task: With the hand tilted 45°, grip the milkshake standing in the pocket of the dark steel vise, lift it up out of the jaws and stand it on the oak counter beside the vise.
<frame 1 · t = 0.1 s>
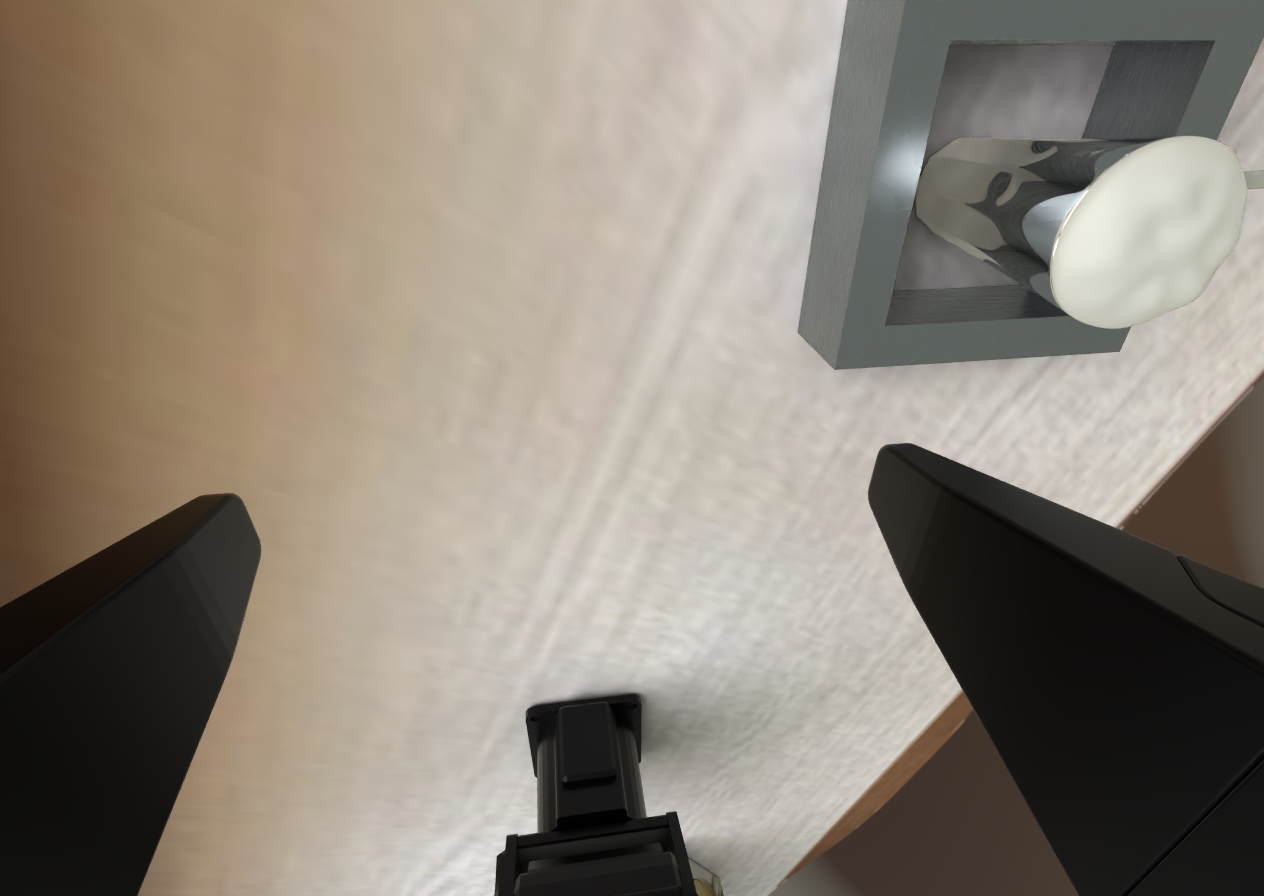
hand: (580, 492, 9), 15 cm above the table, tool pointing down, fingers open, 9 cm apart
coffee box: (660, 873, 47), on the table
milkshake: (963, 177, 22), on the table
vise: (967, 178, 22), on the table
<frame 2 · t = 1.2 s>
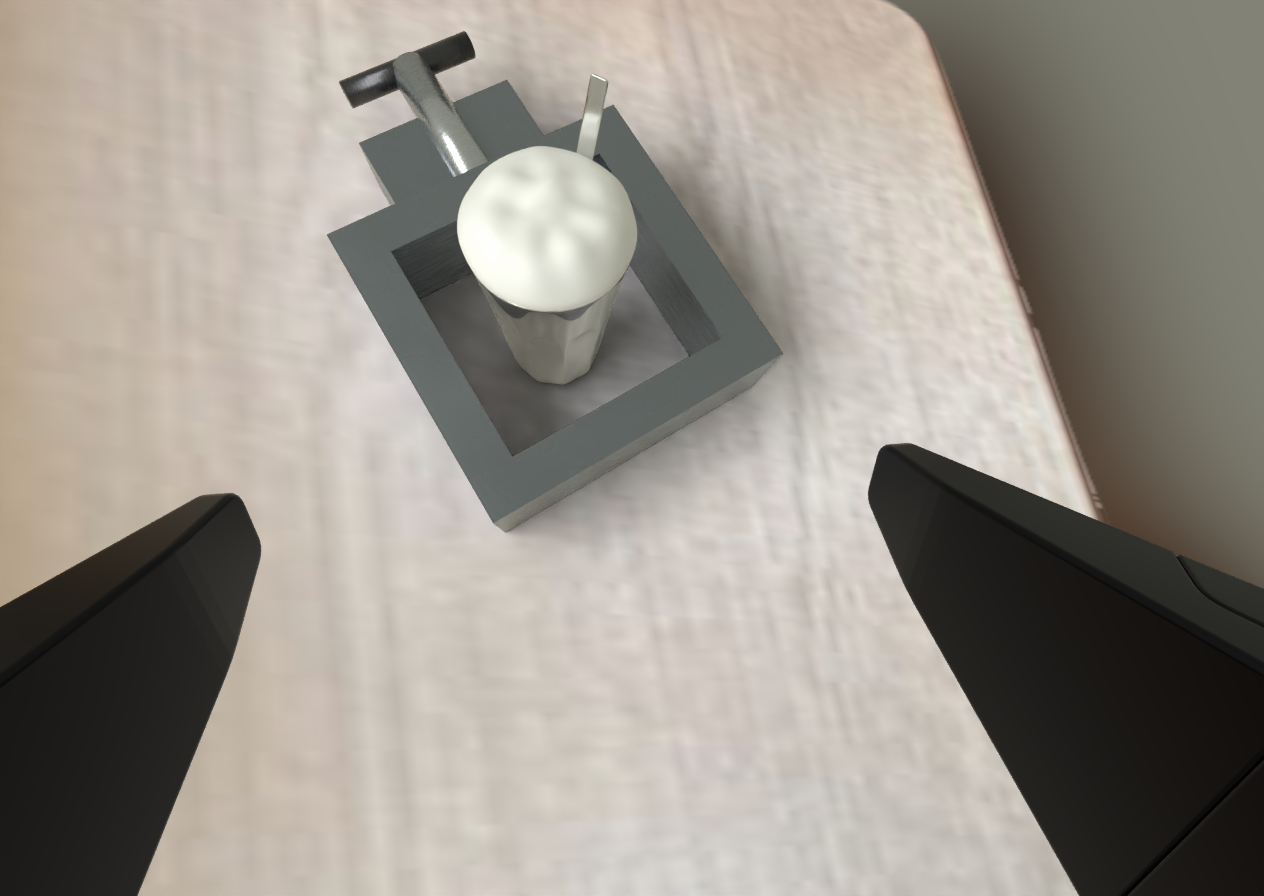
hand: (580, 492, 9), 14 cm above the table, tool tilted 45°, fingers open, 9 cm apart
milkshake: (560, 338, 24), on the table
vise: (560, 336, 23), on the table
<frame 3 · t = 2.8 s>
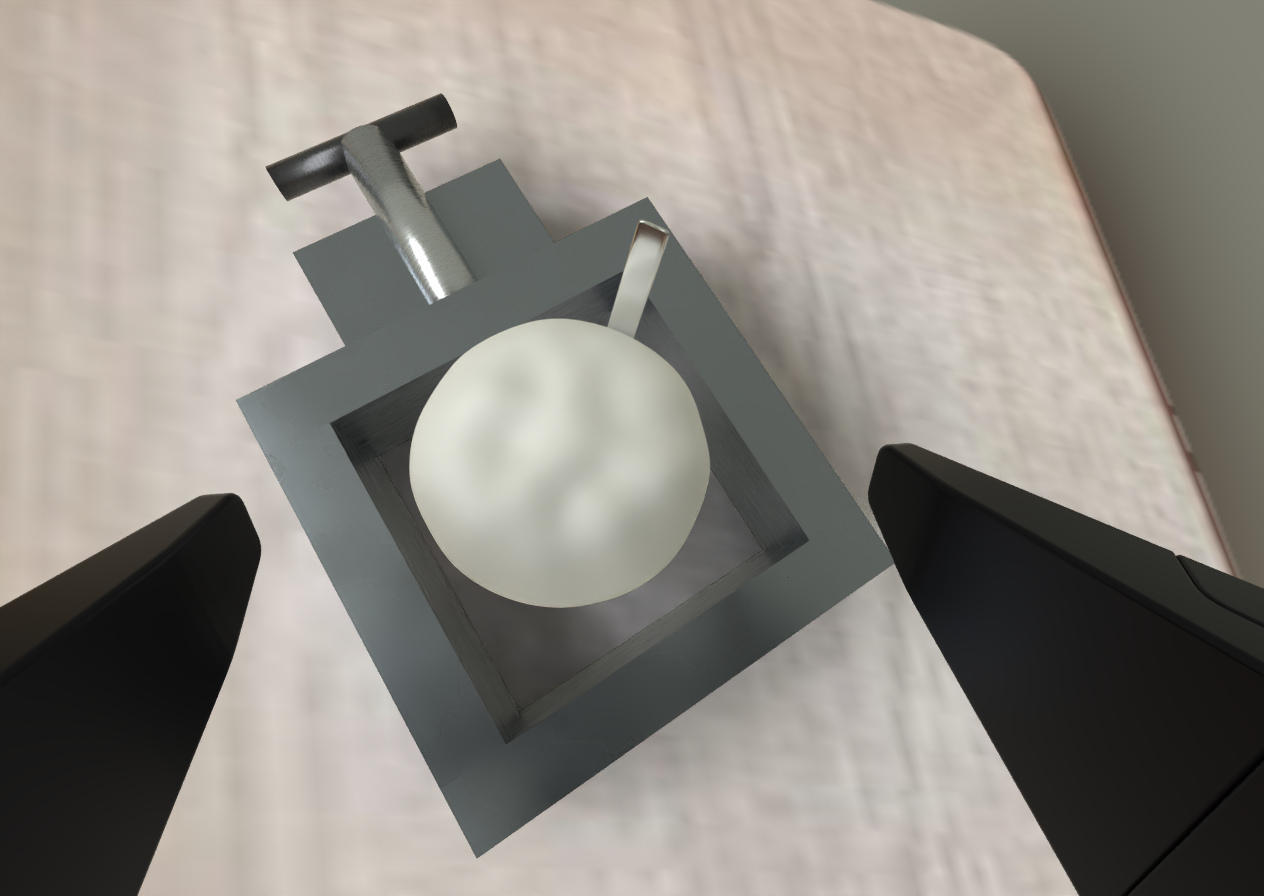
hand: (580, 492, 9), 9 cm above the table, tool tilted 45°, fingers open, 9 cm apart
milkshake: (573, 504, 17), on the table
vise: (573, 503, 17), on the table
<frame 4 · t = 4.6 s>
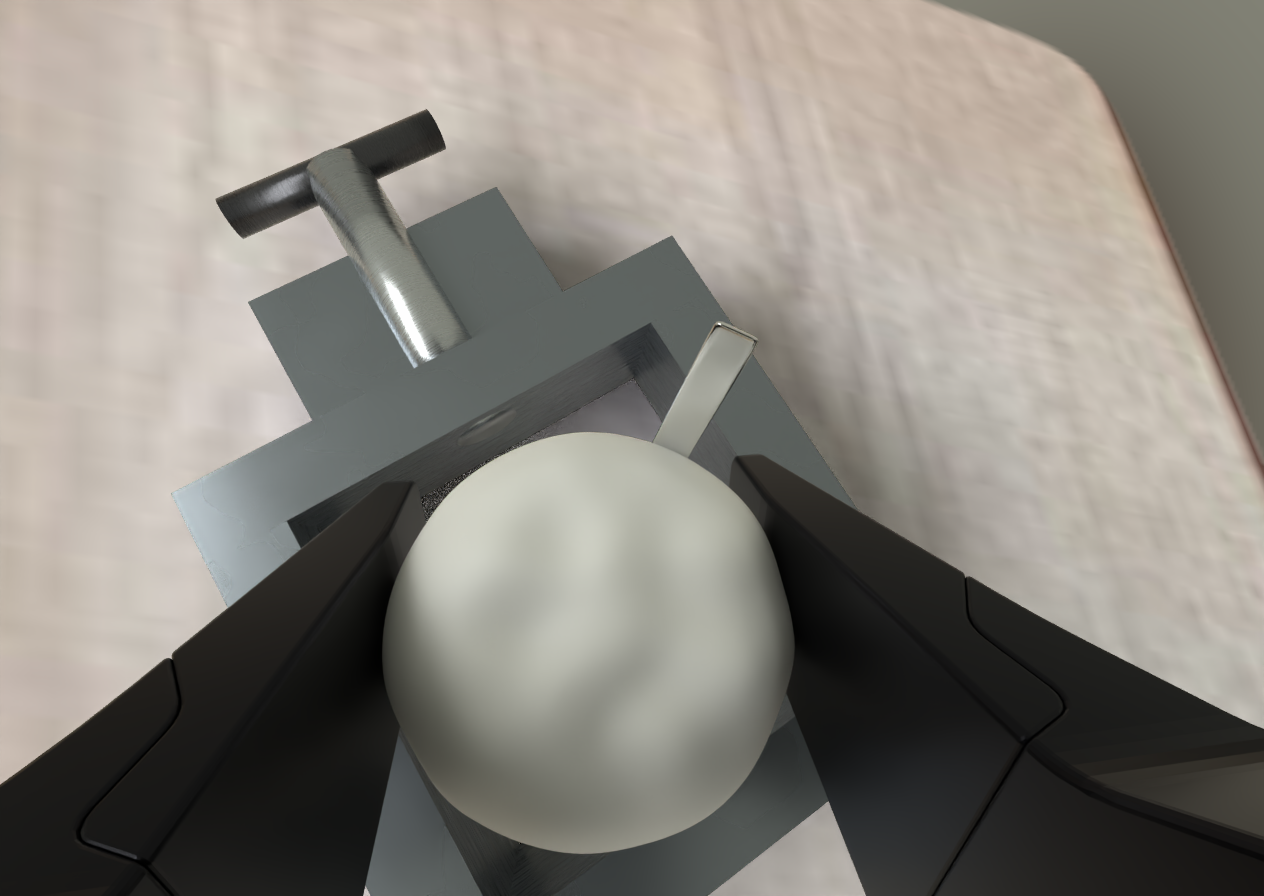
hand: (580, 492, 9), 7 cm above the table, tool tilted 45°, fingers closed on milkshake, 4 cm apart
milkshake: (581, 590, 15), on the table, touching gripper
vise: (582, 590, 15), on the table
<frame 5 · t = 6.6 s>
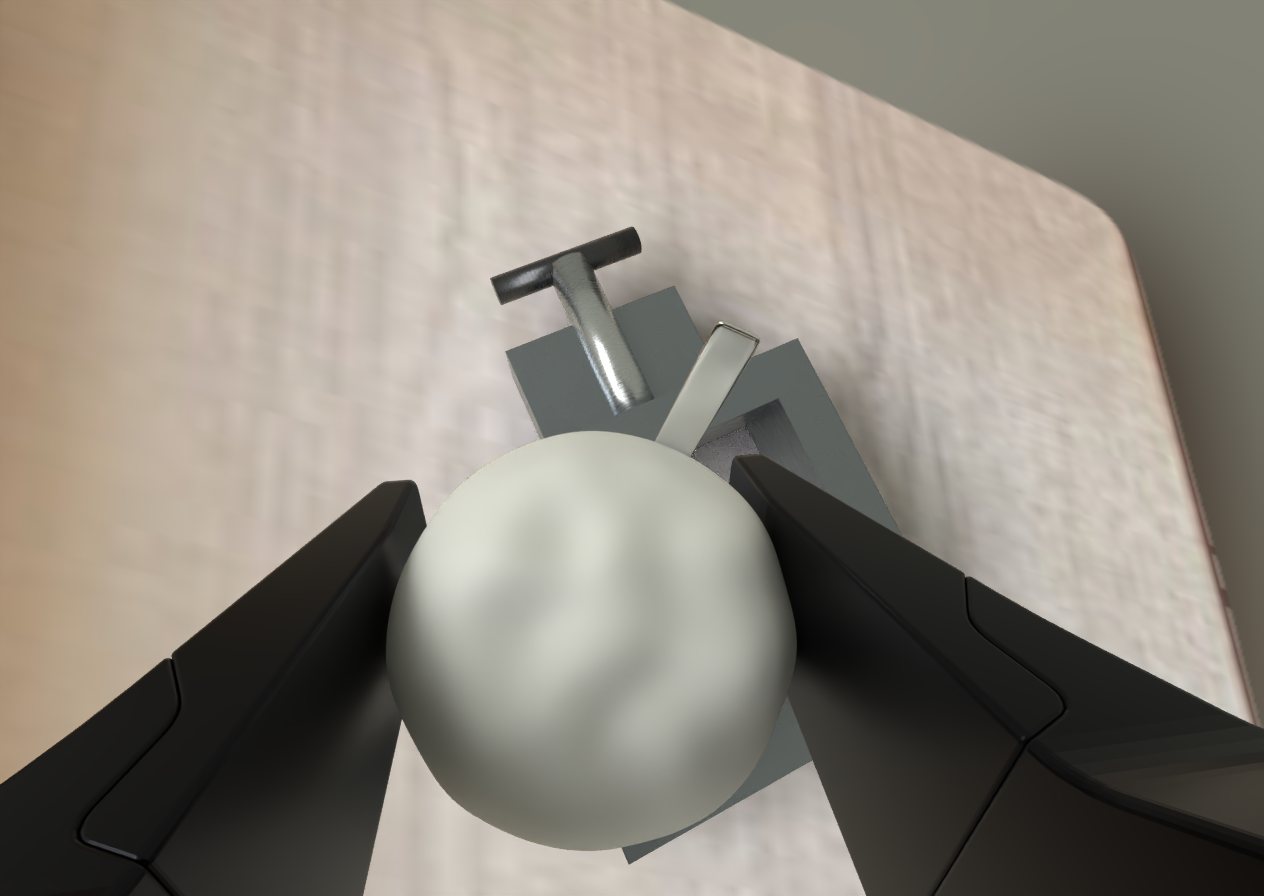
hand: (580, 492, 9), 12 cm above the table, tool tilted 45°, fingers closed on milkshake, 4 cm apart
milkshake: (584, 588, 15), point 5 cm above the table, touching gripper
vise: (697, 574, 21), on the table
when the fingers open (8 cm above the table, at t = 8.7 s): milkshake drops 1 cm, on the table.
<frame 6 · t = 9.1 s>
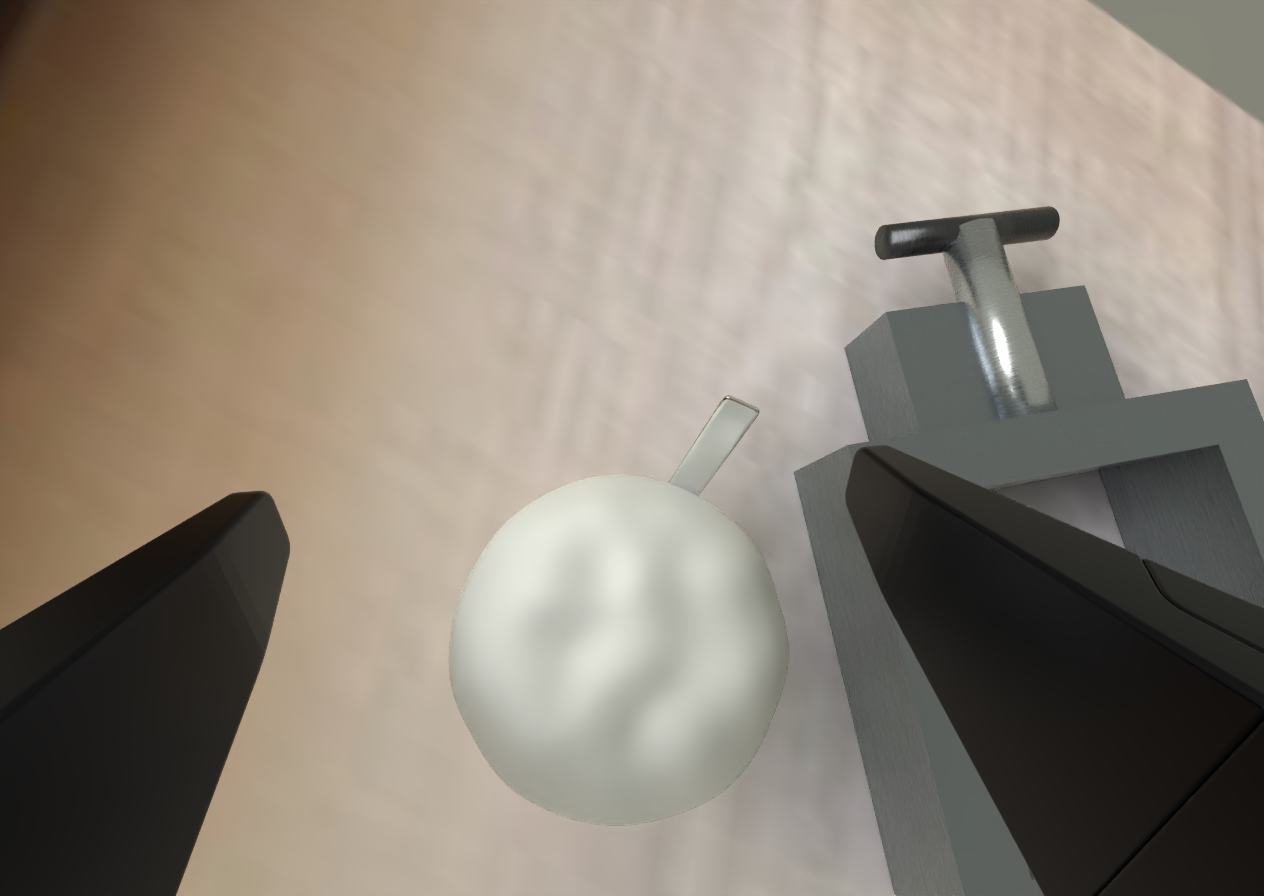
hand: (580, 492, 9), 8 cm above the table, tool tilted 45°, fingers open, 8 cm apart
milkshake: (592, 595, 16), on the table
vise: (1022, 629, 17), on the table
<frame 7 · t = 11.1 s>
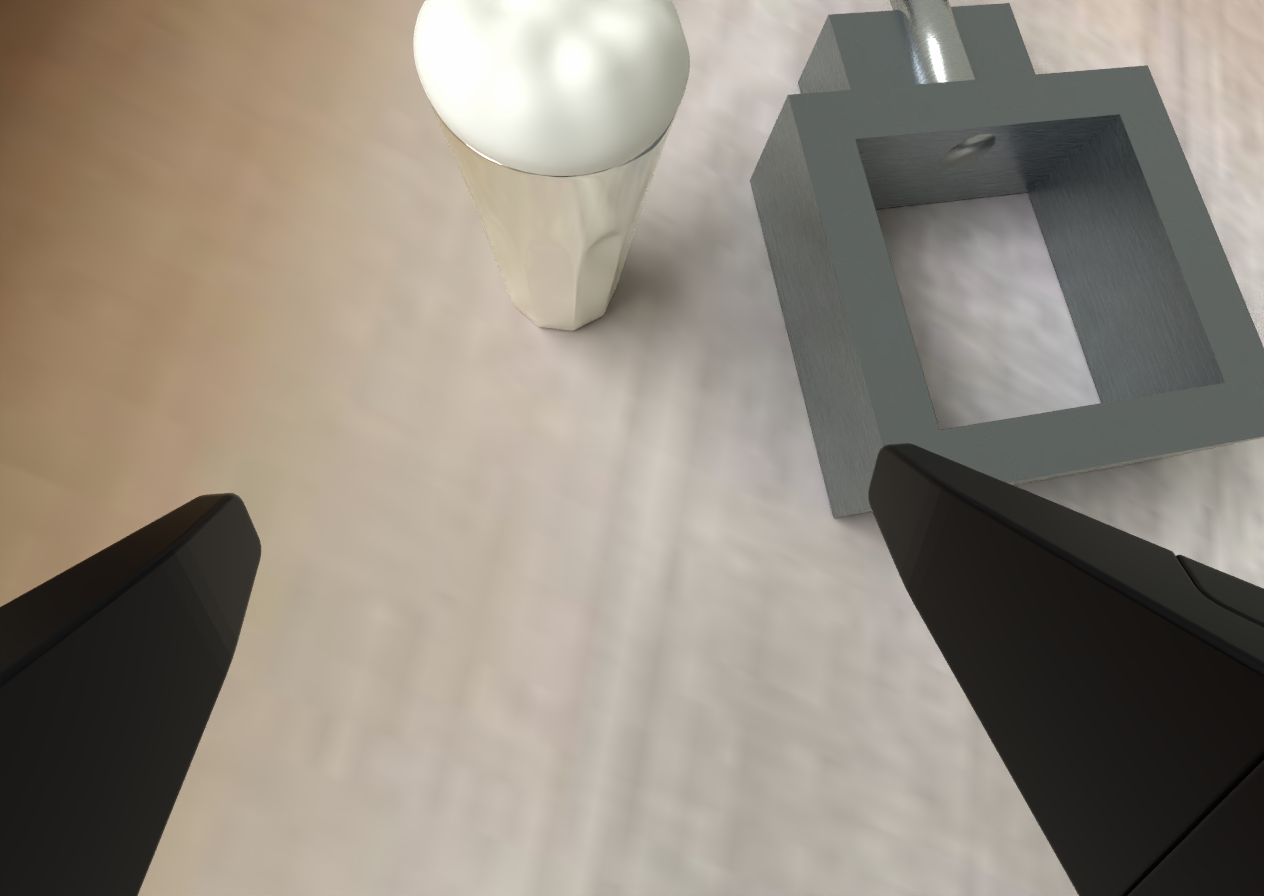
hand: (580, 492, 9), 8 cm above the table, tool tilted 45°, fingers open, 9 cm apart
milkshake: (567, 273, 18), on the table
vise: (954, 316, 19), on the table
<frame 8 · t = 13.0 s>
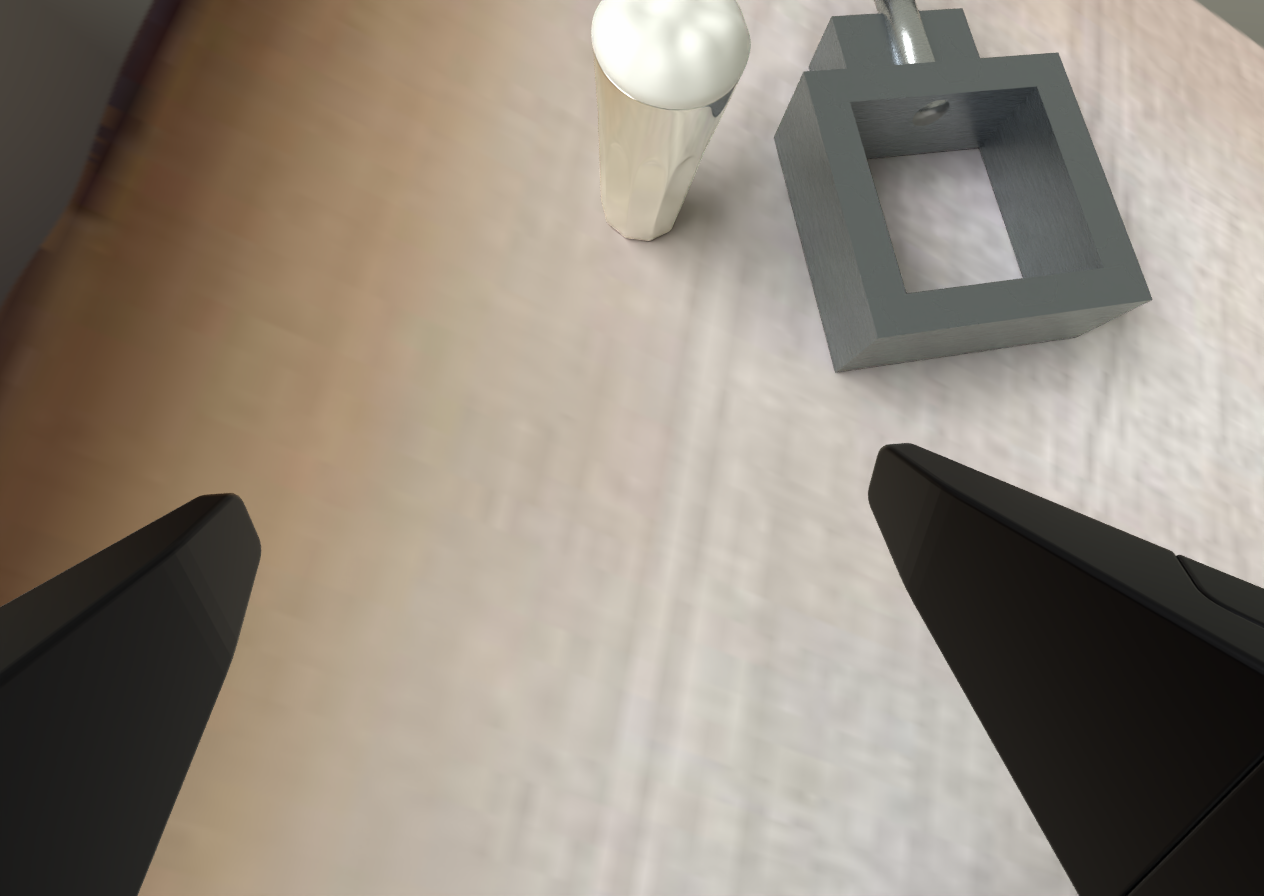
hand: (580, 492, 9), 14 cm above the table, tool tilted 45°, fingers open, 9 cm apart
milkshake: (643, 202, 25), on the table
vise: (922, 235, 26), on the table
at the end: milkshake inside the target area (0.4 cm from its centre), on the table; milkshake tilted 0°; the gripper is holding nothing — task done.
